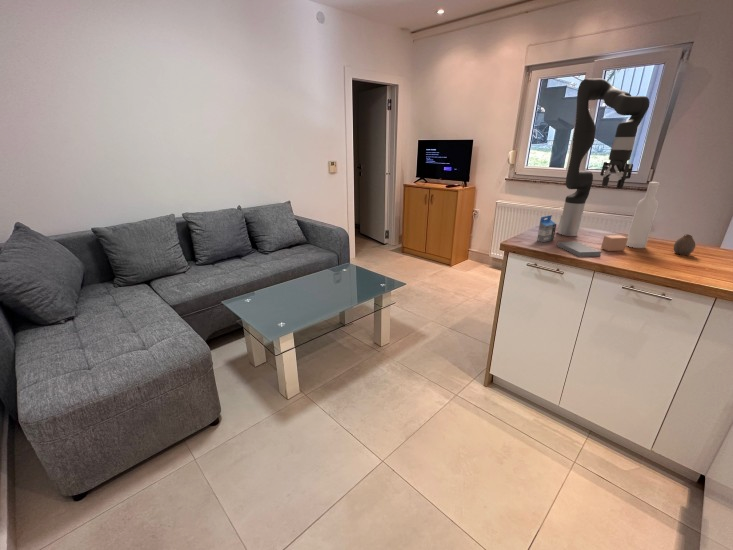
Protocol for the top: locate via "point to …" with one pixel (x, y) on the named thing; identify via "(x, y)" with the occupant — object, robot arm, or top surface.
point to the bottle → (643, 218)
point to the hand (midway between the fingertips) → (611, 187)
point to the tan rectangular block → (614, 243)
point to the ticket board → (579, 249)
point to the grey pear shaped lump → (684, 245)
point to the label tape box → (546, 229)
